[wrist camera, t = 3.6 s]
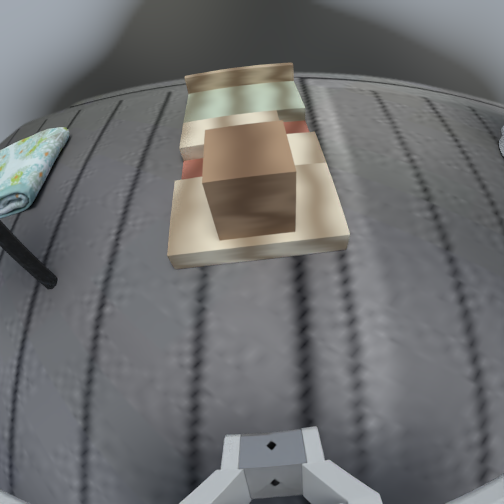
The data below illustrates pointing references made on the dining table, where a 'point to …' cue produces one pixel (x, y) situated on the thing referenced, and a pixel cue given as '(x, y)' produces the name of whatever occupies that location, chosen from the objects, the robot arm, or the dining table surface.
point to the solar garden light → (25, 258)
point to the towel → (28, 168)
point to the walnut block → (250, 180)
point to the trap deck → (304, 155)
